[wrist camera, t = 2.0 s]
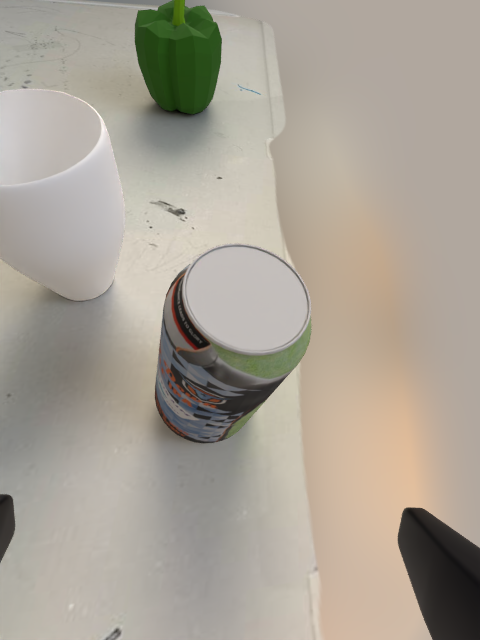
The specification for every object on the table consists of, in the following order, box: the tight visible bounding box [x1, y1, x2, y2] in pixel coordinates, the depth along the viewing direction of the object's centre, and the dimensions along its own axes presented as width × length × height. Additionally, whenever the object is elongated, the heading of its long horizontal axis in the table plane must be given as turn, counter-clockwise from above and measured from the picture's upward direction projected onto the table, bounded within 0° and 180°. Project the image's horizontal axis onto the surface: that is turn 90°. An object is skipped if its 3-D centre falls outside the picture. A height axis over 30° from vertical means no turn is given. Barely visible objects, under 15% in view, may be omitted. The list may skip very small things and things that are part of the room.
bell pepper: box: [135, 0, 222, 114], centre depth 36 cm, size 8×8×10 cm
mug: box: [0, 89, 125, 301], centre depth 24 cm, size 12×8×11 cm
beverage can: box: [155, 243, 311, 443], centre depth 18 cm, size 6×7×12 cm
